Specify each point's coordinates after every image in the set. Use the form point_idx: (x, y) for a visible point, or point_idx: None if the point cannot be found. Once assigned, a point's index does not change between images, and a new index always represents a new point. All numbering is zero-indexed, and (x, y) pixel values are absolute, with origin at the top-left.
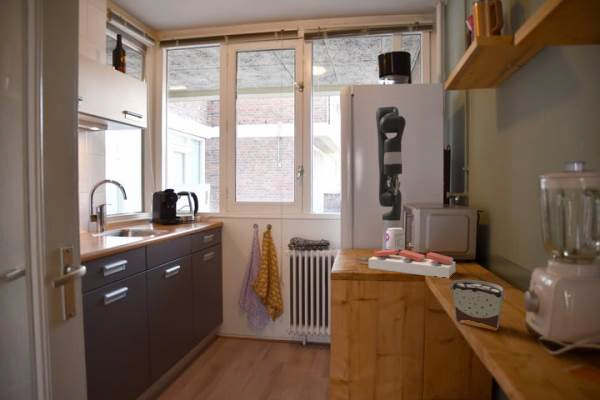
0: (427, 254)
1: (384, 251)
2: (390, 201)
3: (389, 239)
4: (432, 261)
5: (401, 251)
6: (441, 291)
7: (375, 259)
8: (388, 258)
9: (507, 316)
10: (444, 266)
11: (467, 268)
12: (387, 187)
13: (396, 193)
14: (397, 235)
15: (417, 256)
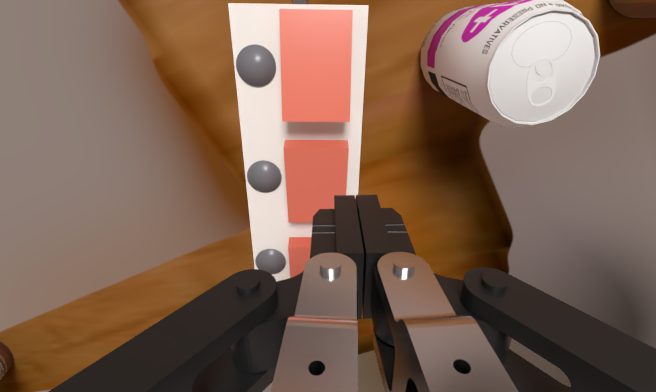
0: (291, 249)
1: (305, 64)
2: (334, 204)
3: (460, 41)
4: None
5: (301, 152)
6: (128, 281)
7: (235, 41)
8: None
9: (69, 377)
10: None
11: None
12: (81, 390)
13: (382, 340)
14: (465, 97)
15: (293, 211)
